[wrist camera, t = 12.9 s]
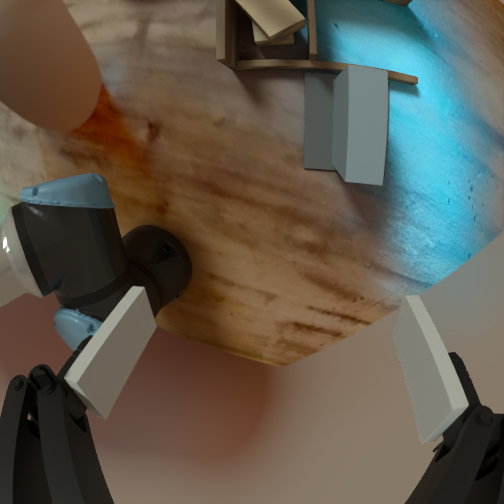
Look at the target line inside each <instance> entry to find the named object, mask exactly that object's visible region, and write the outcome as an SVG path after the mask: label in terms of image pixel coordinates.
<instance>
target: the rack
mask: <svg viewBox="0 0 504 504" xmlns="http://www.w3.org/2000/svg"><path fill="white" fill-rule="evenodd" d="M381 1H386V2H390V3H394V4H398V5H401V6H405V7H406V6H407V5H408V4H409V3H410V2H411V1H412V0H381ZM306 12H307V31H308V57H309V60H289V59H266V60H242V61H239V6H238V5H237V4H236V2H235V0H217V15H216V59H217V60H218V61H220V62H221V63H223V64H224V65H226V66H227V67H228V68H230V69H231V70H245V69H307V70H323V71H334V72H342V71H343V70H344V69H345V67H346V66H347V65H354V64H346V63H337V62H327V61H315V60H316V56H317V38H316V19H315V5H314V0H306ZM356 66H361V65H356ZM363 67H367V66H363ZM369 68H373V67H369ZM375 69H379V68H375ZM381 70H384V69H381ZM386 71H388V80H393V81H398V82H403V83H407V84H411V85H414V84H418V77H415V76H411V75H407V74H403V73H399V72H394V71H389V70H386Z"/></svg>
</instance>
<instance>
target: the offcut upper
mask: <svg viewBox="0 0 504 504" xmlns="http://www.w3.org/2000/svg"><path fill="white" fill-rule="evenodd" d="M235 2H236V4H237V5H238V6H239V7H240V9H241V10H242V11H243V12H244V13H245V14H246V15H247V16H248V17H249V18H250V19H251V20H252V21H253V22H254V24H255V25H256V26H257V27H258V28H259V29H260V30H261V31H262V33H263V34H264V35H265V36H266V37H267V38H268V40H269V41H270V42H271V43H272V44H274V43H276V42H277V41H279V40H281V39H283V38H285V37H287V36H288V35H290V34H292V33H294V32H296V31H298V30H300V29H302V28H304V27H305V18H304V17H303V16H302V14H301V13H300V12H299V11H298V10H297V9H296V8H295V7H294V6H293V5H292V4H291V3H290V2H289V0H235Z"/></svg>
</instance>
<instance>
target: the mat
mask: <svg viewBox="0 0 504 504" xmlns="http://www.w3.org/2000/svg"><path fill="white" fill-rule="evenodd" d="M304 73H305V134H304V168H312V169H326V170H336V169H335V167H334V166H333V164H332V145H333V81H334V80H335V79H336V77H337V76H338V75H337V74H326V73H312V72H304ZM388 119H389V82H388ZM388 119H387V140H388ZM387 140H386V154H387ZM385 166H386V155H385ZM385 166H384V175H385Z"/></svg>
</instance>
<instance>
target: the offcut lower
mask: <svg viewBox="0 0 504 504" xmlns="http://www.w3.org/2000/svg"><path fill="white" fill-rule="evenodd" d="M252 25H253V32H254V39H255V43H256V44H257V46H258V47H267V46H277V45H290V44H294V36H293V33H292V34H290V35H288V36H287V37H285V38H283V39H281V40H279V41H277V42H276V43H274V44H272V43H271V42H270V41H269V40H268V38H267V37H266V36H265V35H264V34H263V33H262V31H261V30H260V29H259V28H258V27H257V26H256V25H255V24H254V22H253V21H252Z"/></svg>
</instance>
